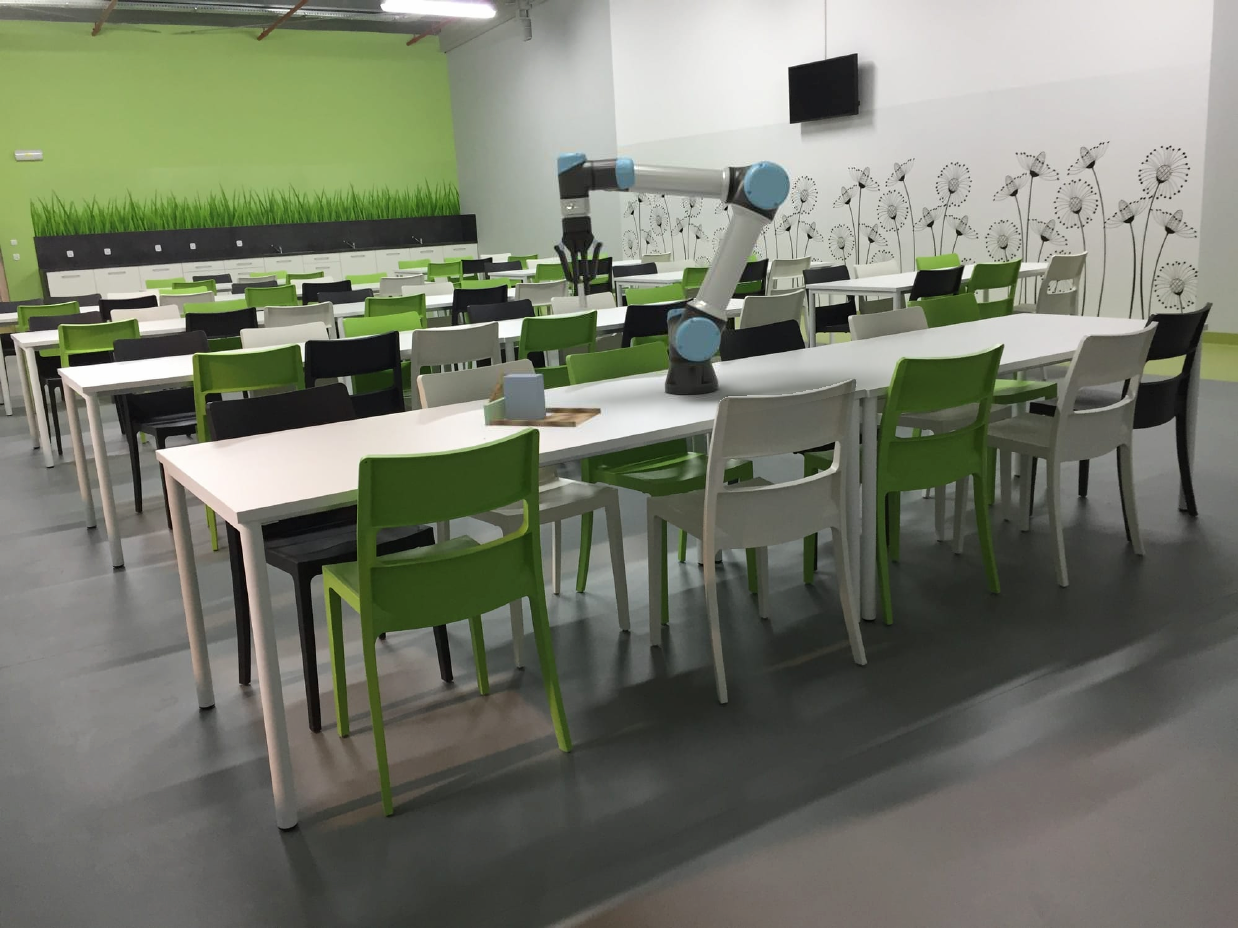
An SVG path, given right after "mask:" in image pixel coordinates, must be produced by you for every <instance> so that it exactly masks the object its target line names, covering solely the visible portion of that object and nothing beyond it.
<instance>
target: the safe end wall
mask: <svg viewBox="0 0 1238 928" xmlns="http://www.w3.org/2000/svg"><path fill="white" fill-rule="evenodd" d="M483 414H484V423H485V424H484V425H485V426H491V425H490V423H489V420H503V419H505V418H506V409H505V398H504V397H503V398H500V399H498V400H495V401H493V402H490V403H489V402H488V403H485V404H483Z"/></svg>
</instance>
